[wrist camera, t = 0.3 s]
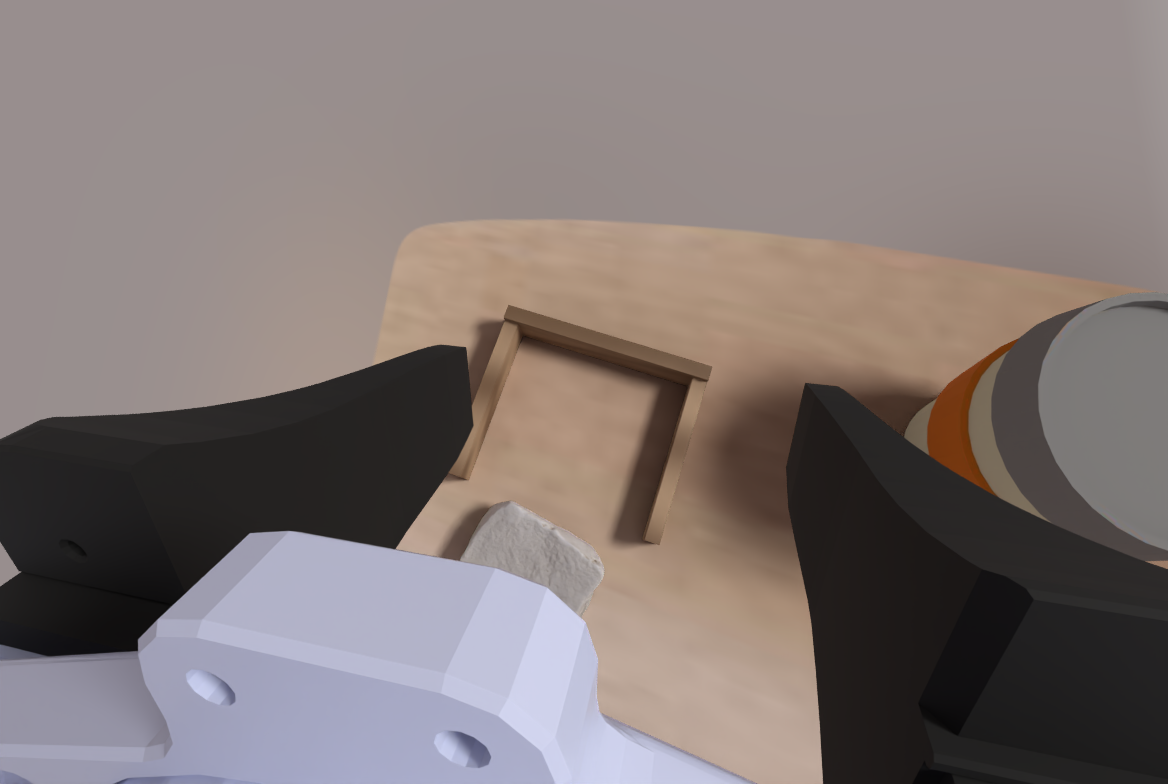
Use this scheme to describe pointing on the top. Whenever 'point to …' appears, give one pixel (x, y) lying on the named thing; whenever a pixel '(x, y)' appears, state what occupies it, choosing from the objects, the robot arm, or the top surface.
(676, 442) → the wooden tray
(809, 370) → the top surface
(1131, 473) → the reusable coffee cup
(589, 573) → the white rough stone
